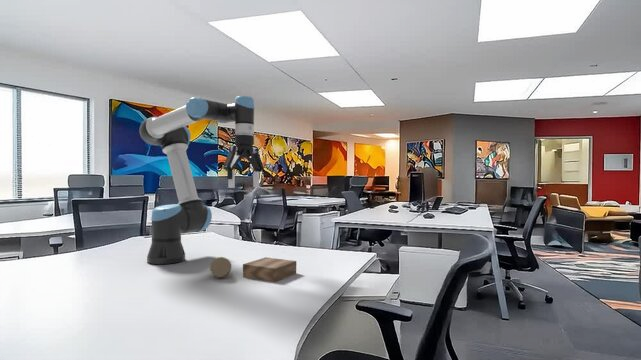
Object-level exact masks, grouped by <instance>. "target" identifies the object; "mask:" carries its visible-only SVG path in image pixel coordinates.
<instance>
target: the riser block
mask: <svg viewBox="0 0 641 360" xmlns="http://www.w3.org/2000/svg"><path fill="white" fill-rule="evenodd" d="M296 274H297V260H292V259H290V260H289V259H285V258H284V259H282V258H276V257H275V258H274V257H273V258H272V257H262V258H259V259H256V260H252V261H249V262H246V263H243V264H242V277H243V278H247V279H252V280H253V279H254V280H259V281H265V282H272V283H276V282H279V281H281V280H284V279H287V278H288V277H291V276H293V275H296Z"/></svg>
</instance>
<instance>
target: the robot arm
mask: <svg viewBox="0 0 641 360" xmlns="http://www.w3.org/2000/svg"><path fill="white" fill-rule="evenodd" d="M203 120H211V121H215V122H217V123H220V124H221V123H222V124H227V123H233V122H235V123H234V134H235V137H234V144H235V145H230V146H229V151H228V153H227V155H226V159H225V161H224V163H223V166H222V168H223V170H224V171H226V172H227V180H228V181H227V182H228V188H229V189H230V188H231V189H235V188H236V187H235V184H236V181H235V179H236V177H235V176H236V175H235V172H236V171H235V170H234V169H235V168H236V166H237V165H238V163H239V162H240V160H241V159H246V160H248V162H249V164H250V165H251V166H252V168H253V170H254V171H253V172H252V174H253V175H252V176H253V177H252V178H253V183H252V186H253V188H260V179H261V178H260V177H261V172H263V171H264V170H265V167H264V164H263V161H262V160H261V159H262V158H261V155H260V152H259V151H260V150H259V148H258V147H253V146H254V145H255V136H254V135H255V100H254V98H253V97H251V96H248V95H239V96H235V100H234V103H224V102H219V101H214V100H211V99H209V100H208V99H205V98H201V97H191V98H189V99H188V101H186V104H185V105H183V106H181V107H178V108H177V109H174V110H172V111H169V112H166V113H164V114H162V115H159V116H152V117H149V118H146V119H145V120H143V121H142V122H141V123H140V126H139V132H138V133H139V135H140V137H141V139H142V140H143V141H144V142H145V143H146V144H148V145H151V146H159V147H161V151H162V153H163V154H165V155H166V157H167V160H168V163H169V167H170V171H171V172H170V173H171V176H172V181H173V183H174V184H173V185H174V187H175V188H174V189H175V191H176V192H175V193H176V196H177V200H178V203H177V204H176V203H175V204H174V203H173V204H164V205H158V206H156V207H154V208H153V209H152V211H151V218H150V220H151V243H150V247H149V250H148V253H147V256H146V263H148V264H154V265H166V264H167V265H168V264H177V263H181V262H183V261H185V260H186V252H185V249H184V246H183V243H182V235H183V234H189V233H199V232H202V231H205V230H207V229H208V228H209V226H210V225H211V223H212V219H213V217H212V216H213V215H212V214H213V213H212V210H211V208H210V207H209V206H208V205H204V201H203V199H202V198H201V197H199V196H198V195H199V194H198V191H197V189H196V185H195V179H194V177H193V173H192V169H191V165H190V162H189V157H188V155H187V154H188V153H187V149H188V148H189V145H190V143H191V139H192V137H191V132H190V130H189V128H188V127H187V126H188V125H189V126H190V125H192V124H194V123H197V122H199V121H200V122H201V121H203Z"/></svg>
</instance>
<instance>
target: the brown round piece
mask: <svg viewBox="0 0 641 360" xmlns="http://www.w3.org/2000/svg"><path fill="white" fill-rule="evenodd" d="M231 270H232V262H231V261H230V260H229V259H228V258H226V257H225V256H224V257H223V256H218V257H217V258H214V259H213V261H212V262H211V264H210V270H209V271H210V272H211V274H212V275H213V276H215V277H216V278H225V277H226V276H229V274H230V272H231Z"/></svg>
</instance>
